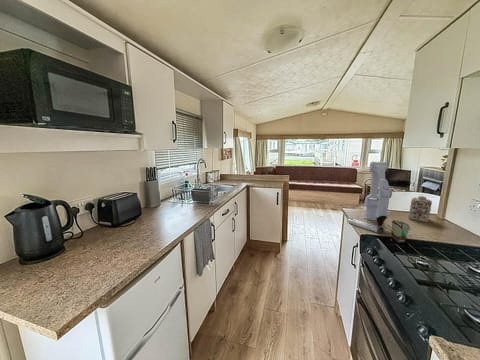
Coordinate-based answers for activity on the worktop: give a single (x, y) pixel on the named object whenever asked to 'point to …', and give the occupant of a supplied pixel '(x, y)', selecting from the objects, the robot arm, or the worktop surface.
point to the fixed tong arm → (364, 226)
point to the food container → (399, 230)
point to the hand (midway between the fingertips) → (379, 225)
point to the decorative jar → (420, 209)
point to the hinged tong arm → (369, 225)
